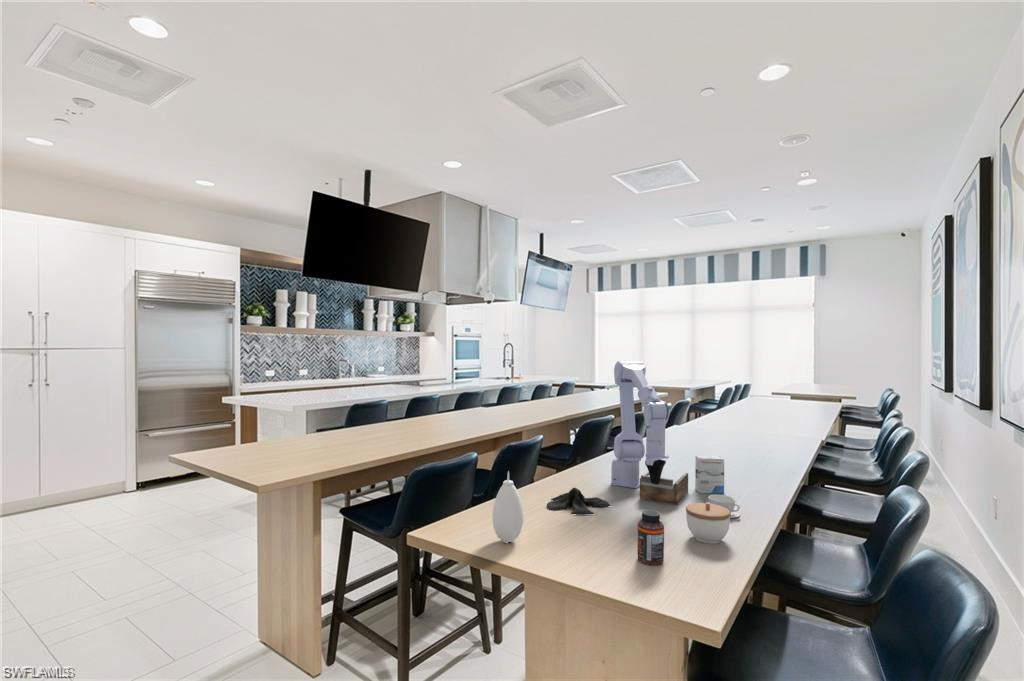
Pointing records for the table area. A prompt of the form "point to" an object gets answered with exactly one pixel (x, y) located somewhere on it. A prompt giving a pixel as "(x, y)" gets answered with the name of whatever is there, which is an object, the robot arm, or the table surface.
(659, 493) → the walnut box
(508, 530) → the air blower bulb
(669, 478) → the lid
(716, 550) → the table surface
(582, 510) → the cloth
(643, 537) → the supplement bottle
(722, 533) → the lidded jar
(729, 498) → the teacup
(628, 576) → the table surface
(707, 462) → the ink box
